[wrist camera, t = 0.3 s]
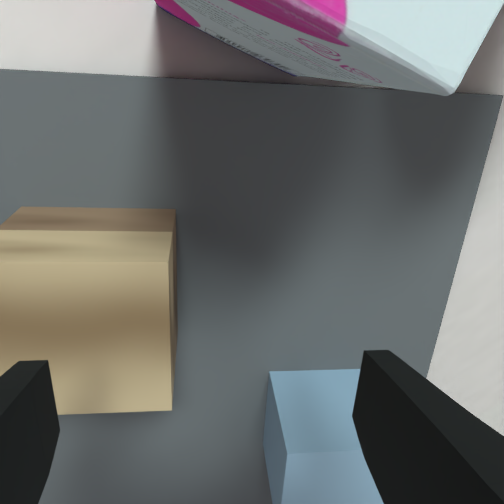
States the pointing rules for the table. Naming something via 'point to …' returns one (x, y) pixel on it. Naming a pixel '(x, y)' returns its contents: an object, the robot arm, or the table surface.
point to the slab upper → (91, 315)
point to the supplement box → (352, 37)
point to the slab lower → (99, 226)
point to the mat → (249, 247)
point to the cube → (315, 439)
